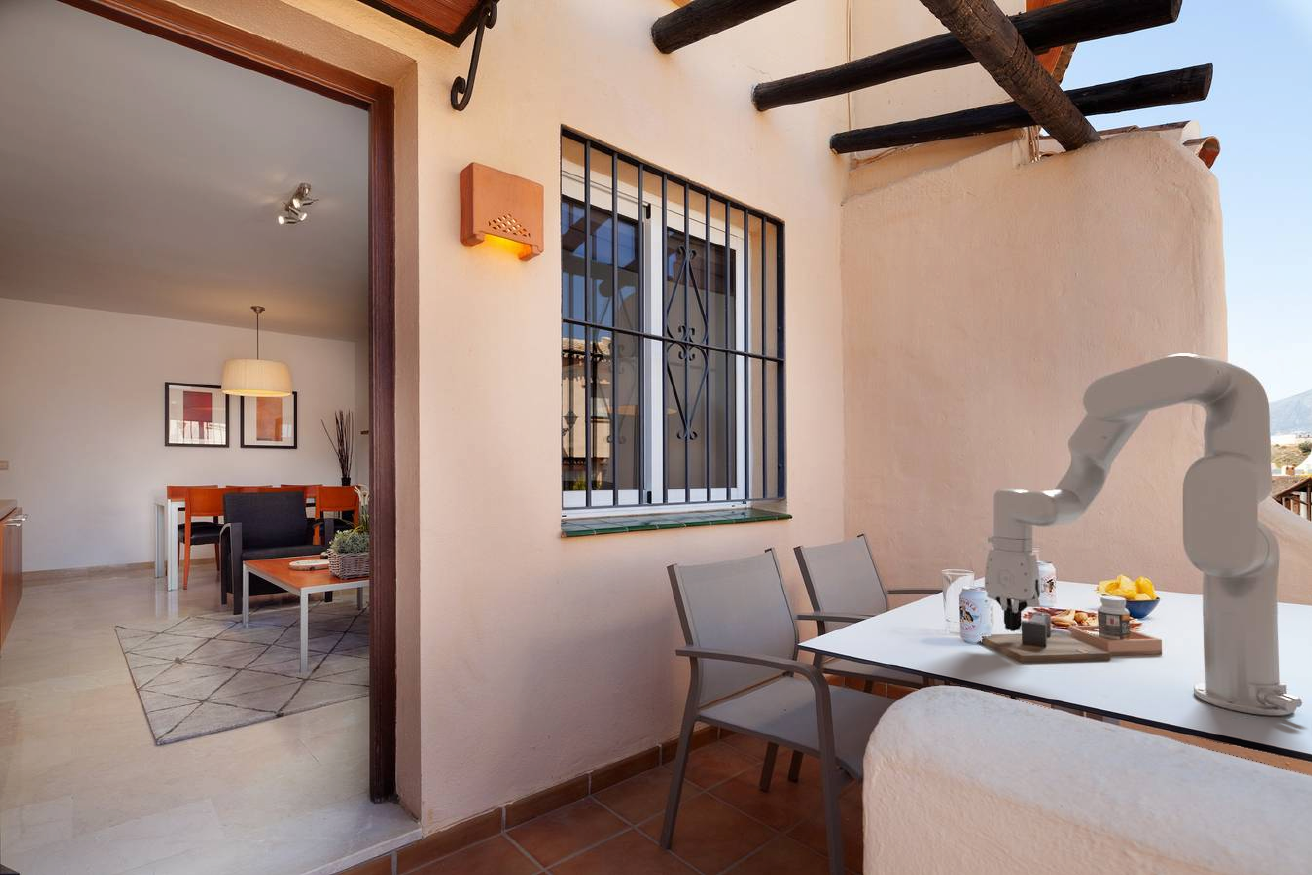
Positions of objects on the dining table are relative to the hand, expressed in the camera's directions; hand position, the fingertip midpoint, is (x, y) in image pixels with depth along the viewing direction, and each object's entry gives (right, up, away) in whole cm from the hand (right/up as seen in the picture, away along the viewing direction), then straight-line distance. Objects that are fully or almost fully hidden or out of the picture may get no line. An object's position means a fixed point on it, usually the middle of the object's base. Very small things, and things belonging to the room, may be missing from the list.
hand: (1012, 628), depth 142 cm
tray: (+23, -4, +1) cm, 23 cm away
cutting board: (+5, -4, -2) cm, 7 cm away
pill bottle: (+23, -3, +1) cm, 23 cm away
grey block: (+6, -2, +1) cm, 7 cm away
